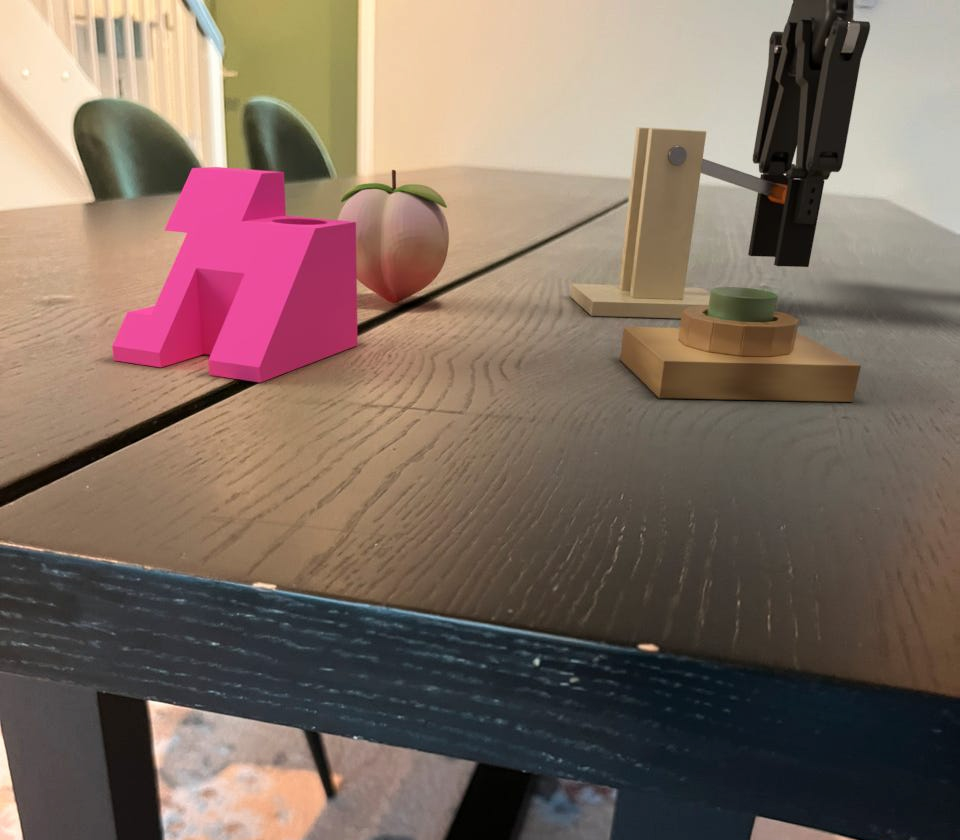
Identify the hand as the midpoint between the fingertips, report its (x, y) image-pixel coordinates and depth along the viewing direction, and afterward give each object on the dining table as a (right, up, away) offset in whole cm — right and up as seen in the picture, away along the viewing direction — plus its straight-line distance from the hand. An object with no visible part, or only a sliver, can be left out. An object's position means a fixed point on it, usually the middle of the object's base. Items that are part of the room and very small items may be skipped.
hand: (777, 260), depth 84 cm
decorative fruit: (-33, -5, -2) cm, 33 cm away
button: (-9, -13, -23) cm, 28 cm away
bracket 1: (-41, -14, -21) cm, 48 cm away
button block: (-10, -16, -21) cm, 28 cm away
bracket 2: (-11, -4, +1) cm, 12 cm away
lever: (-6, +5, -3) cm, 8 cm away
